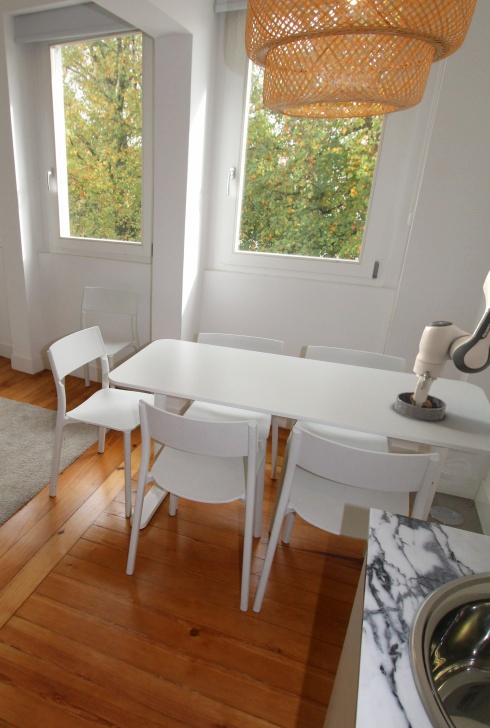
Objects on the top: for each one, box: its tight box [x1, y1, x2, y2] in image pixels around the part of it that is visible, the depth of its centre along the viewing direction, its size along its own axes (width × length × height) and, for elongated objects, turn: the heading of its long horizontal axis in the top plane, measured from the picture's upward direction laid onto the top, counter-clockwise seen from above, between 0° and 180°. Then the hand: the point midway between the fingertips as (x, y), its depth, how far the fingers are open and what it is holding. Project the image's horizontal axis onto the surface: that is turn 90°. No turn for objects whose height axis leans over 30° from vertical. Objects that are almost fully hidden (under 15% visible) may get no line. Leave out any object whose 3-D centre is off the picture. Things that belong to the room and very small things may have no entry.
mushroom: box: [410, 394, 432, 409], centre depth 164 cm, size 8×8×6 cm
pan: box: [394, 391, 447, 421], centre depth 164 cm, size 15×15×4 cm
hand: (419, 405), depth 164 cm, fingers closed on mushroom, 8 cm apart
